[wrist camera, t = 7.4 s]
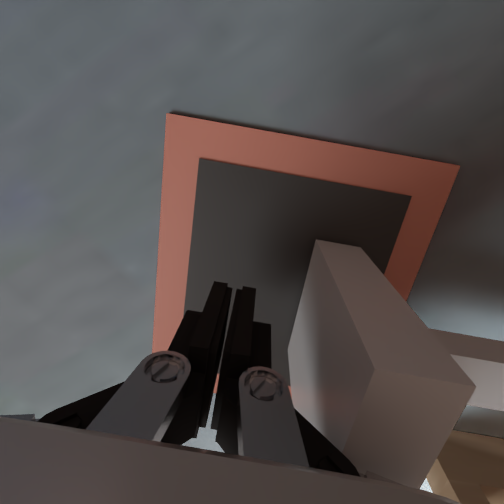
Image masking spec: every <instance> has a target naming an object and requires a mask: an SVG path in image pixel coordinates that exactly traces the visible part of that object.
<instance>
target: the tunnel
mask: <svg viewBox="0 0 504 504" xmlns="http://www.w3.org/2000/svg"><path fill="white" fill-rule="evenodd" d="M426 478H427V480H428V482H429V485H430V487H431V489H432V491H433V493H434V494H437V495H440V496H443V497H447V498H449V499H452V500H454V501H457V502H459V503H461V504H504V439H502V438H496V437H491V436H485V435H479V434H473V433H467V432H462V431H456V430H452V432H451V434H450V435H449V437H448V439H447V441H446V442H445V444H444V446H443V448H442V450H441V451H440V453H439V455H438V457H437V459H436V460H435V462H434V464H433V466H432V467H431V469H430V471H429V473H428V475H427V476H426Z"/></svg>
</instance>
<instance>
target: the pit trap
mask: <svg viewBox="0 0 504 504" xmlns="http://www.w3.org/2000/svg"><path fill="white" fill-rule="evenodd" d="M459 168H460V165H454V164H448V163H443V162H437V161H432V160H426V159H420V158H415V157H409V156H404V155H398V154H392V153H387V152H381V151H376V150H370V149H365V148H359V147H353V146H348V145H342V144H337V143H331V142H325V141H320V140H314V139H309V138H303V137H298V136H292V135H286V134H281V133H275V132H270V131H264V130H258V129H253V128H247V127H242V126H236V125H231V124H225V123H219V122H214V121H208V120H203V119H197V118H191V117H186V116H180V115H175V114H169V113H166V129H165V146H164V163H163V180H162V196H161V213H160V230H159V247H158V263H157V280H156V297H155V314H154V331H153V347H152V353H155V352H159V351H167V350H168V348H169V346H170V344H171V342H172V340H173V338H174V336H175V334H176V331H177V329H178V327H179V325H180V323H181V321H182V319H183V317H184V315H185V313H186V311H187V310H192V311H198V312H202V311H203V309H204V306H205V303H206V301H207V298H208V296H209V293H210V291H211V288H212V285H213V283H214V281H217V282H223V283H228V287H231V288H233V289H232V295H231V302H230V308H229V314H228V320H227V327H226V333H225V339H224V345H225V340H226V336H227V331H228V327H229V322H230V317H231V313H232V308H233V303H234V299H235V294H236V290H237V289H242V287H243V286H246V287H252V288H256V297H255V308H254V319H253V321H256V322H262V323H268V324H271V361H272V369H273V370H275V371H276V372H278V373H279V374H281V375H282V376H283V378H284V379H285V380H286V382H287V384H288V387H289V391H290V394H291V383H290V371H289V359H288V346H289V342H290V338H291V335H292V331H293V327H294V323H295V319H296V315H297V311H298V307H299V303H300V299H301V296H302V292H303V288H304V284H305V280H306V276H307V272H308V268H309V264H310V260H311V256H312V253H313V249H314V245H315V241H316V239H317V240H322V241H328V242H334V243H339V244H345V245H351V246H356V247H361V248H362V250H363V251H364V252H365V253H366V254H367V256H368V257H369V258H370V259H371V260H372V262H373V263H374V264H375V265H376V266H377V268H378V269H379V270H380V271H381V272H382V274H383V275H384V276H385V277H386V278H387V280H388V281H389V282H390V283H391V284H392V286H393V287H394V288H395V289H396V290H397V292H398V293H399V294H400V295H401V296H402V298H403V299H404V300H405V301H407V298H408V296H409V293H410V291H411V288H412V286H413V283H414V281H415V278H416V276H417V273H418V271H419V268H420V266H421V263H422V261H423V258H424V256H425V253H426V251H427V248H428V246H429V243H430V241H431V238H432V236H433V233H434V231H435V228H436V226H437V223H438V221H439V218H440V216H441V213H442V211H443V208H444V206H445V203H446V201H447V198H448V196H449V193H450V191H451V188H452V186H453V183H454V181H455V178H456V176H457V173H458V171H459ZM224 345H223V350H224ZM222 355H223V351H222ZM222 355H221V360H220V364H219V369H218V373H217V378H216V383H215V387H214V392H213V393H216V392H217V386H218V380H219V374H220V367H221V361H222ZM291 398H292V395H291Z"/></svg>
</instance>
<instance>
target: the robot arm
mask: <svg viewBox="0 0 504 504" xmlns="http://www.w3.org/2000/svg"><path fill="white" fill-rule="evenodd" d="M232 289H233V288H231V287H228V283H223V282H217V281H214V283H213V285H212V288H211V291H210V293H209V296H208V298H207V301H206V303H205V306H204V309H203V311H202V312H198V311H192V310H187V311H186V313H185V315H184V317H183V319H182V321H181V323H180V325H179V327H178V329H177V331H176V334H175V336H174V338H173V340H172V342H171V344H170V346H169V348H168V350H167V351H159V352H155V353H152V354H150V355H148V356H147V357H146V358H144V359H143V360H142V361H141V362H140V364H139V365H138V366H137V367H136V369H135V370H134V371H133V372H132V373H131V375H130V376H129V377H128V378H127V380H126V381H125V382H122V383H120V384H117V385H115V386H112V387H110V388H107V389H105V390H103V391H100V392H98V393H95V394H93V395H90V396H88V397H85V398H83V399H80V400H78V401H75V402H73V403H71V404H68V405H66V406H63V407H61V408H58V409H56V410H54V411H52V412H50V413H48V414H46V415H45V416H43V417H42V418H41V419H35V414H25V415H0V504H461V503H459V502H457V501H454V500H452V499H449V498H447V497H443V496H440V495H437V494H434V493H431V492H427V491H424V490H420V489H415V488H411V487H407V486H405V485H402V484H400V483H397V482H395V481H392V480H390V479H387V478H385V477H382V476H380V475H377V474H375V473H372V472H370V471H366V473H365V475H364V474H362V473H359V472H358V471H357V469H356V467H355V466H354V465H353V464H352V463H351V461H350V460H349V459H348V458H347V457H346V456H345V455H344V454H343V453H341V452H340V451H339V450H338V449H337V448H336V447H335V446H334V445H333V444H332V443H331V442H330V441H329V440H328V439H327V438H326V437H325V436H323V435H322V434H321V433H320V432H319V431H318V430H317V429H316V428H315V427H314V426H313V425H312V424H311V423H310V422H309V421H308V420H306V419H305V418H304V417H303V416H302V415H301V414H300V413H299V412H298V411H297V410H296V409H295V408H294V406H293V402H292V398H291V394H290V391H289V387H288V384H287V382H286V380H285V379H284V378H283V376H282V375H281V374H279V373H278V372H276V371H275V370H273V369H272V361H271V324H268V323H262V322H256V321H253V319H254V308H255V297H256V288H252V287H246V286H243V287H242V289H237V290H236V294H235V299H234V303H233V308H232V313H231V317H230V322H229V327H228V331H227V336H226V340H225V345H224V339H225V333H226V327H227V320H228V314H229V308H230V302H231V295H232ZM223 345H224V350H223ZM222 351H223V355H222ZM221 355H222V361H221V367H220V374H219V380H218V386H217V392H216V398H215V405H214V411H213V417H212V423H211V429H215V430H217V435H216V441H215V442H217V443H218V444H219V445H220V447H221V448H222V449H223V451H224V452H225V453H223V452H217V451H211V450H205V449H200V448H194V447H188V446H182V444H183V443H185V442H186V441H188V440H190V439H191V438H197V433H198V429H199V427H204V428H205V427H206V423H207V419H208V414H209V410H210V405H211V401H212V396H213V392H214V387H215V383H216V378H217V373H218V369H219V364H220V360H221Z"/></svg>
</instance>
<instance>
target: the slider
mask: <svg viewBox="0 0 504 504" xmlns="http://www.w3.org/2000/svg"><path fill="white" fill-rule="evenodd" d="M288 359H289V371H290V383H291V395H292V402H293V406H294V408H295V409H296V410H297V411H298V412H299V413H300V414H301V415H302V416H303V417H304V418H305V419H306V420H308V421H309V422H310V423H311V424H312V425H313V426H314V427H315V428H316V429H317V430H318V431H319V432H320V433H321V434H322V435H323V436H325V437H326V438H327V439H328V440H329V441H330V442H331V443H332V444H333V445H334V446H335V447H336V448H337V449H338V450H339V451H340V452H341V453H343V454H344V455H345V456H346V457H347V458H348V459H349V460H350V461H351V463H352V464H353V465H354V466H355V467H356V469H357V471H358V472H359V473H362V474H364V475H365V473H366V471H370V472H372V473H375V474H377V475H380V476H382V477H385V478H387V479H390V480H392V481H395V482H397V483H400V484H402V485H405V486H407V487H411V488H415V489H420V487H421V485H422V484H423V482H424V480H425V478H426V476H427V475H428V473H429V471H430V469H431V467H432V466H433V464H434V462H435V460H436V459H437V457H438V455H439V453H440V451H441V450H442V448H443V446H444V444H445V442H446V441H447V439H448V437H449V435H450V434H451V432H452V430H453V428H454V426H455V425H456V423H457V421H458V419H459V418H460V416H461V414H462V412H463V410H464V409H465V407H466V405H470V406H476V407H481V408H487V409H493V410H499V411H504V342H503V341H498V340H492V339H486V338H481V337H475V336H469V335H463V334H458V333H452V332H446V331H441V330H435V329H429V328H427V326H426V325H425V324H424V323H423V322H422V320H421V319H420V318H419V317H418V316H417V314H416V313H415V312H414V311H413V310H412V308H411V307H410V306H409V305H408V304H407V302H406V301H405V300H404V299H403V298H402V296H401V295H400V294H399V293H398V292H397V290H396V289H395V288H394V287H393V286H392V284H391V283H390V282H389V281H388V280H387V278H386V277H385V276H384V275H383V274H382V272H381V271H380V270H379V269H378V268H377V266H376V265H375V264H374V263H373V262H372V260H371V259H370V258H369V257H368V256H367V254H366V253H365V252H364V251H363V250H362V248H361V247H356V246H351V245H345V244H339V243H334V242H328V241H322V240H317V239H316V241H315V245H314V249H313V253H312V256H311V260H310V264H309V268H308V272H307V276H306V280H305V284H304V288H303V292H302V296H301V299H300V303H299V307H298V311H297V315H296V319H295V323H294V327H293V331H292V335H291V338H290V342H289V346H288Z"/></svg>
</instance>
